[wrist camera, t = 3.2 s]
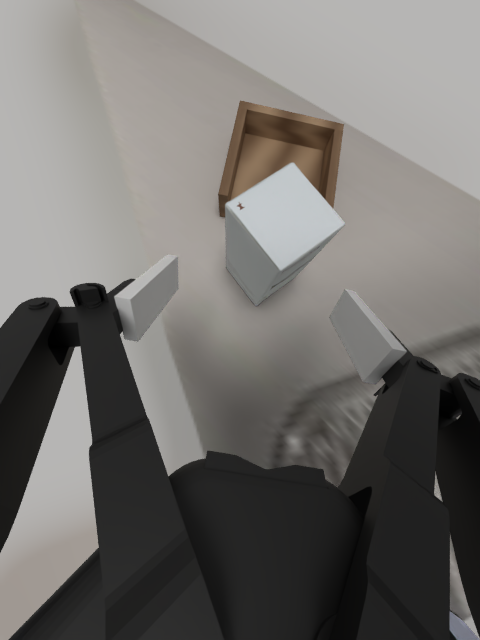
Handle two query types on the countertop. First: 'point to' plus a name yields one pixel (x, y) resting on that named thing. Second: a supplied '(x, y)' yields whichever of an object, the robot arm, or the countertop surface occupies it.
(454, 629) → the soap bottle
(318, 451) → the countertop surface
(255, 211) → the supplement box
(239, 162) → the walnut caddy
